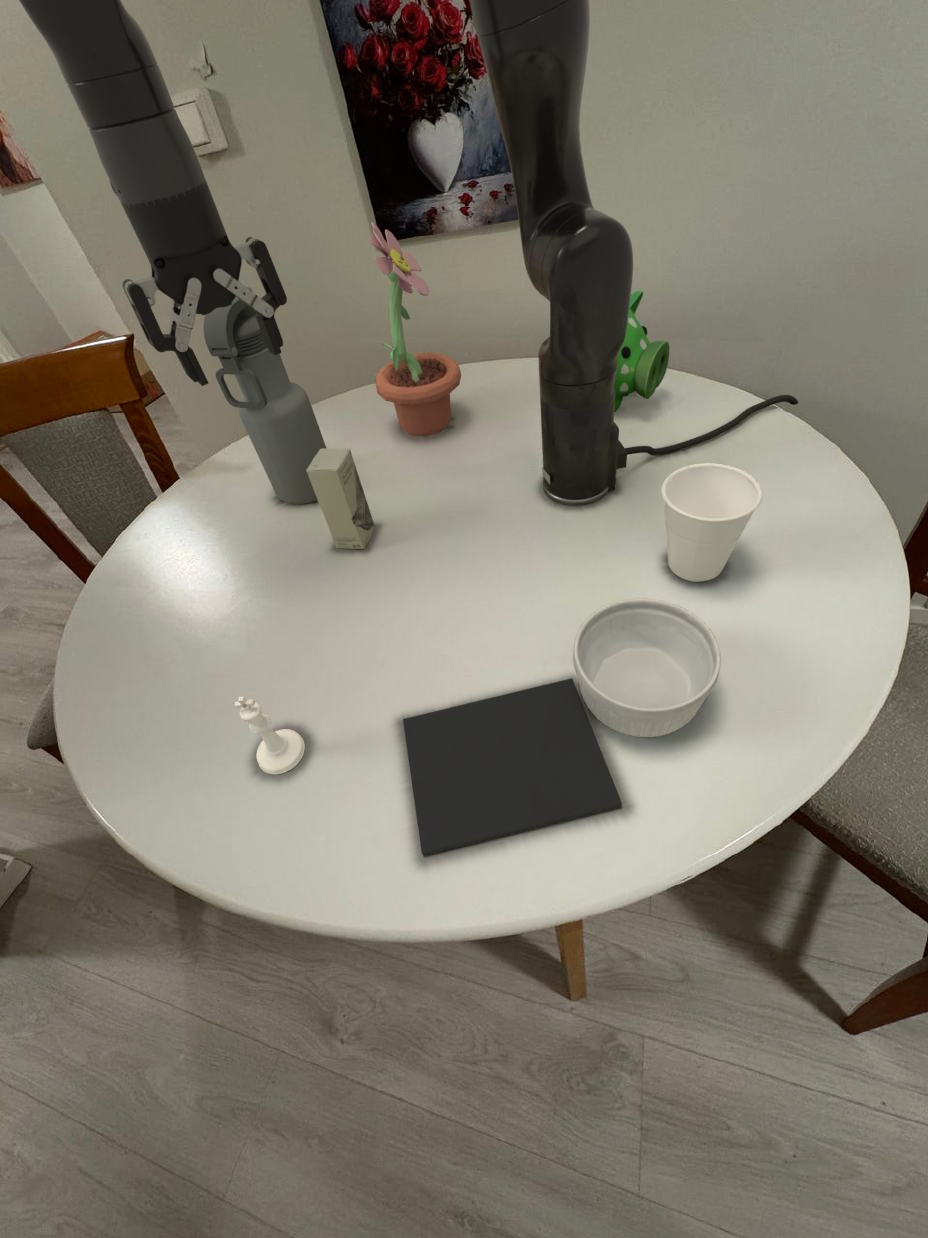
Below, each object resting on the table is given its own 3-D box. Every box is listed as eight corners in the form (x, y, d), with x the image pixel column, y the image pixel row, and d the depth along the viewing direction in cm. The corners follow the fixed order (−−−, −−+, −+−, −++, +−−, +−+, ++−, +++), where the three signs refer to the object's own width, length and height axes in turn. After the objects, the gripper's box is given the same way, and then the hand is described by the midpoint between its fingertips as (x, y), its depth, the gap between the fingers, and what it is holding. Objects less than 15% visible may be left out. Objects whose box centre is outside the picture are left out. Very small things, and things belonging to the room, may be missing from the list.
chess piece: (262, 735, 62) (219, 680, 54) (307, 728, 62) (271, 672, 54) (254, 777, 59) (208, 726, 51) (302, 771, 58) (263, 717, 51)
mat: (572, 682, 61) (572, 677, 60) (621, 807, 51) (622, 803, 51) (404, 723, 60) (402, 718, 60) (423, 856, 51) (421, 853, 50)
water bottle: (318, 511, 87) (238, 316, 66) (264, 505, 90) (172, 317, 69) (348, 471, 93) (283, 281, 72) (296, 466, 96) (220, 283, 75)
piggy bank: (637, 431, 89) (647, 332, 78) (532, 412, 97) (527, 319, 86) (669, 387, 97) (681, 290, 86) (568, 372, 105) (568, 282, 93)
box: (365, 550, 80) (337, 471, 70) (335, 549, 81) (303, 471, 71) (376, 525, 83) (351, 446, 73) (348, 524, 84) (319, 446, 74)
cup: (745, 546, 70) (768, 469, 62) (732, 604, 65) (755, 527, 57) (661, 531, 74) (672, 457, 66) (642, 585, 68) (652, 511, 60)
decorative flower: (467, 446, 93) (434, 231, 71) (383, 456, 95) (325, 248, 72) (468, 399, 103) (439, 197, 81) (392, 409, 105) (343, 213, 82)
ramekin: (681, 773, 53) (693, 734, 48) (550, 716, 59) (548, 676, 53) (725, 667, 59) (740, 623, 54) (603, 625, 65) (606, 582, 60)
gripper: (89, 216, 46) (189, 405, 58) (251, 166, 51) (313, 351, 63) (70, 204, 51) (167, 382, 63) (221, 159, 55) (284, 334, 67)
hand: (240, 367), depth 63 cm, fingers open, 8 cm apart
